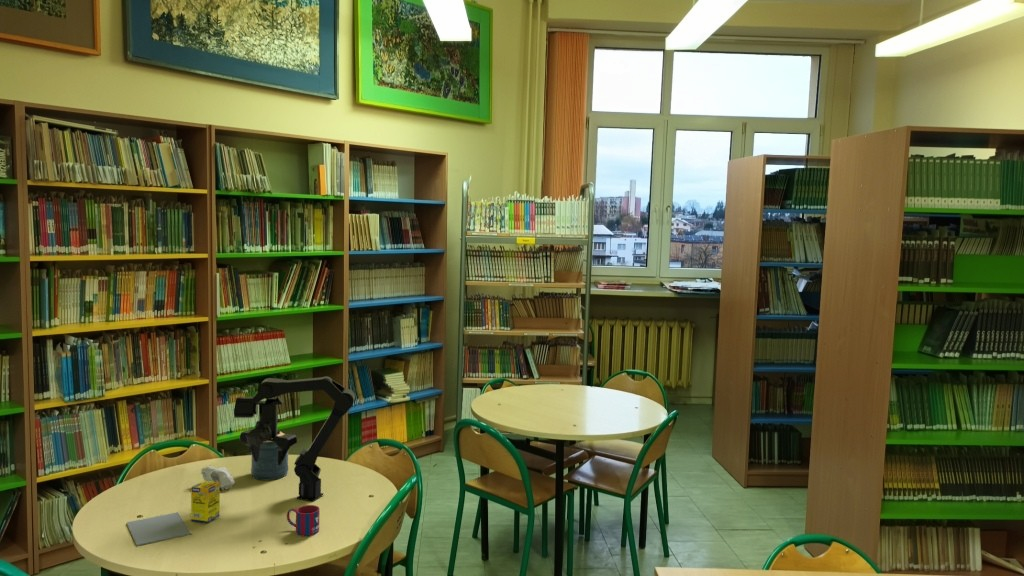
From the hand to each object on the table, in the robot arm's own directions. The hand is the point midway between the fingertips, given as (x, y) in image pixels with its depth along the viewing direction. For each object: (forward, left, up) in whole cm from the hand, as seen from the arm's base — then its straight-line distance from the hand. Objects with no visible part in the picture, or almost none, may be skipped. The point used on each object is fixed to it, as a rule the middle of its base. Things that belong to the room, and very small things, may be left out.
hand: (268, 463), depth 224 cm
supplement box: (+7, +21, -12) cm, 25 cm away
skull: (+22, -2, -12) cm, 25 cm away
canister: (+14, -19, -12) cm, 27 cm away
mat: (+14, +32, -12) cm, 37 cm away
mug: (-25, +17, -12) cm, 33 cm away
